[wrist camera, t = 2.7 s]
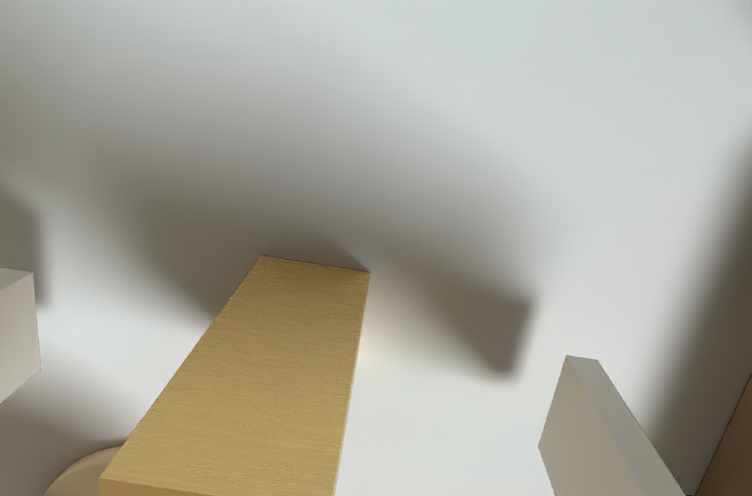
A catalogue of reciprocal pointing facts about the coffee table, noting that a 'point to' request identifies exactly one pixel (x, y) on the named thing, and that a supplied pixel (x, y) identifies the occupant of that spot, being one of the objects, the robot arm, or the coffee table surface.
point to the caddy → (733, 455)
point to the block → (255, 393)
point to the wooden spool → (82, 475)
